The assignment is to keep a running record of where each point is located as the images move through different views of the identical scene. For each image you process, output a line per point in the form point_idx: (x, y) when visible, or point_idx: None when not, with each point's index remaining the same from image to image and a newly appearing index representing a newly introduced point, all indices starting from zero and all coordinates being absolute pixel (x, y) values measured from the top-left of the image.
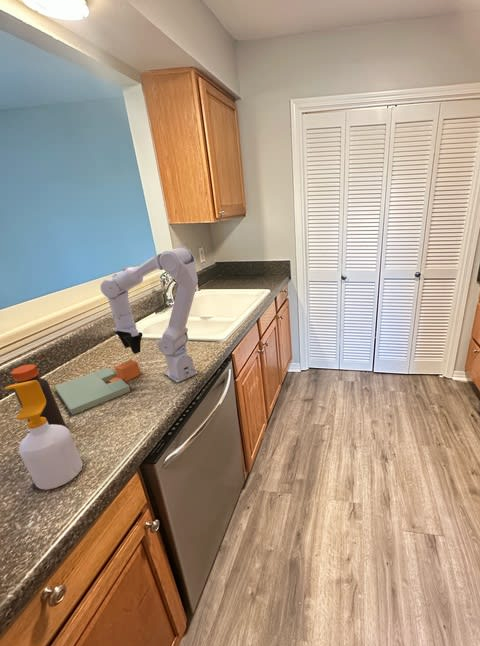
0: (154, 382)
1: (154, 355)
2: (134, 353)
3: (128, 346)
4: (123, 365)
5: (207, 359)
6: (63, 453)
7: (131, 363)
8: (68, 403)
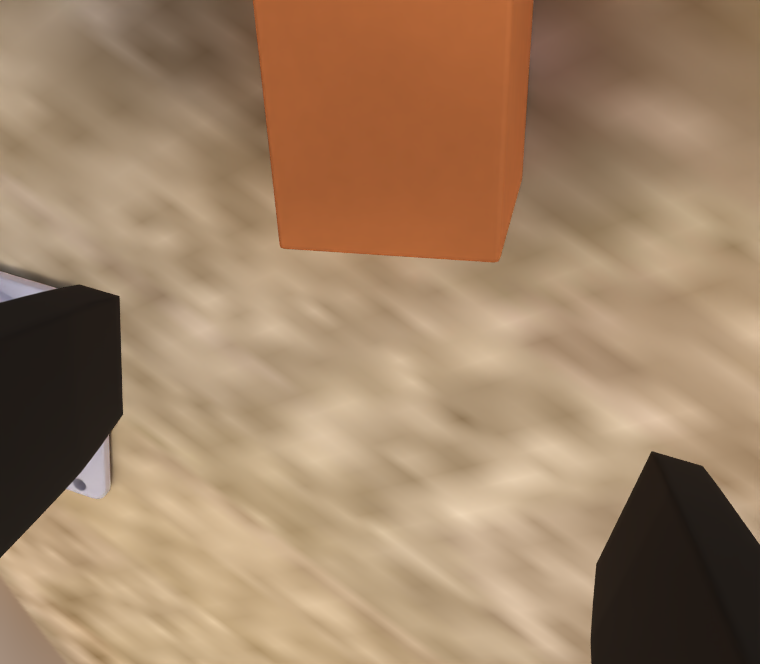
0: (14, 113)
1: None
2: (63, 291)
3: (626, 524)
4: (381, 10)
5: (74, 614)
6: None
7: (314, 156)
8: None
